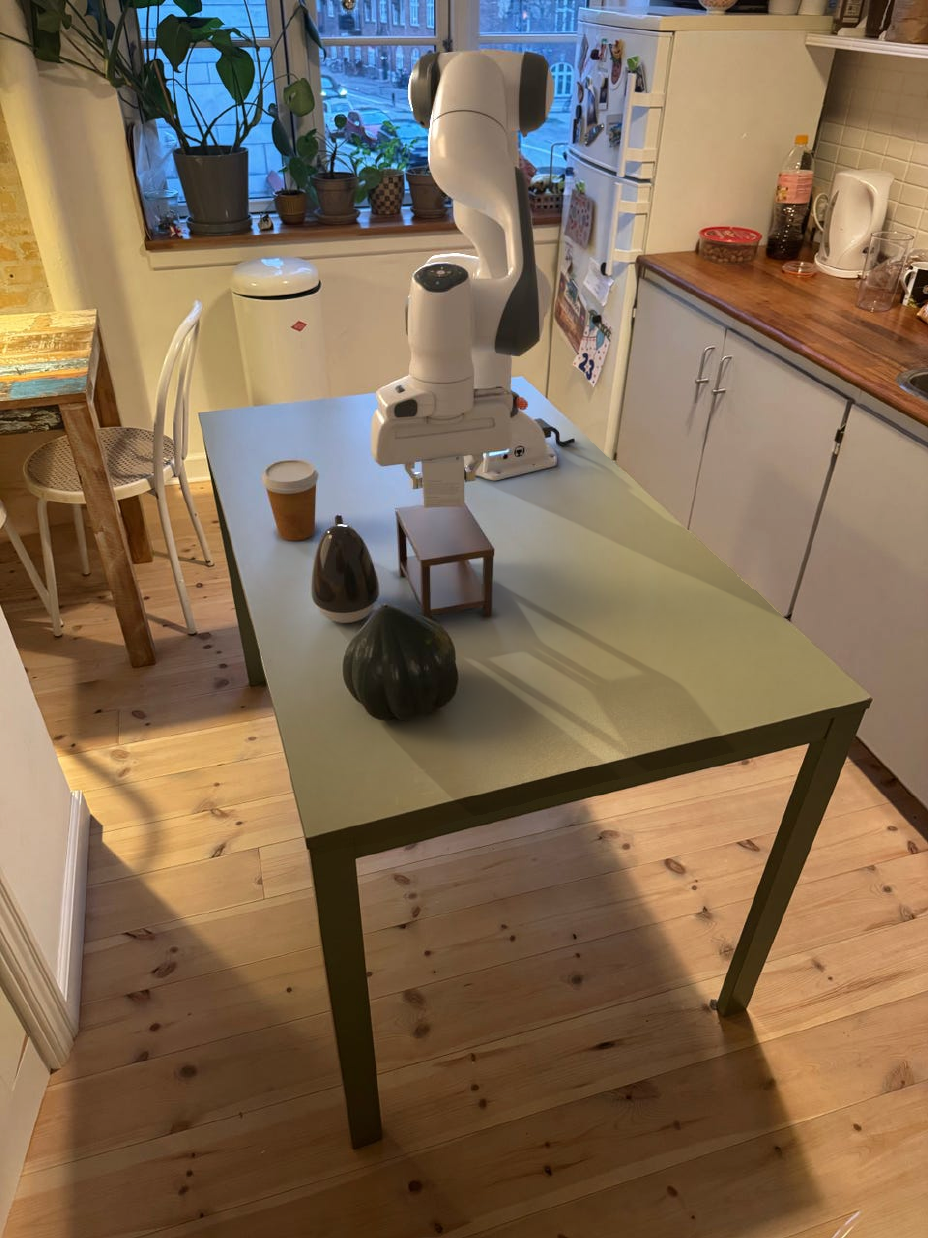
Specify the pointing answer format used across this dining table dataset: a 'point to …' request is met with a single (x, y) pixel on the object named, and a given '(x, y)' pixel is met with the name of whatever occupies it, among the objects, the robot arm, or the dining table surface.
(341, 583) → the dark brown egg timer
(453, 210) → the robot arm
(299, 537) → the disposable coffee cup
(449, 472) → the product carton
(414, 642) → the squash
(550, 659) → the dining table surface
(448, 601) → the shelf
